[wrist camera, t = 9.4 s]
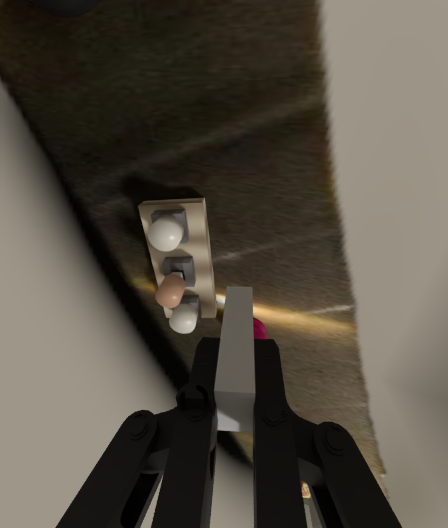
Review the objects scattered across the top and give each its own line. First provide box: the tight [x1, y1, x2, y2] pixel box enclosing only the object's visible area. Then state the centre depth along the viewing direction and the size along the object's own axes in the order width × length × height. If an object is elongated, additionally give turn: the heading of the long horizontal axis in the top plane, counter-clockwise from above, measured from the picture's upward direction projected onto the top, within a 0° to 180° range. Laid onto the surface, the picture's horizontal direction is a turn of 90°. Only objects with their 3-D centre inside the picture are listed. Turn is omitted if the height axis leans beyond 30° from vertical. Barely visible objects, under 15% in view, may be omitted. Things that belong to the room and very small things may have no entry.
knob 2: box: [169, 304, 198, 333], centre depth 48 cm, size 5×5×5 cm
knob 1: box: [148, 215, 184, 251], centre depth 39 cm, size 5×5×5 cm
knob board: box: [138, 198, 217, 323], centre depth 47 cm, size 25×11×6 cm, turn 4°
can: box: [308, 498, 322, 528], centre depth 94 cm, size 8×8×12 cm
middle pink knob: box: [156, 272, 186, 308], centre depth 41 cm, size 4×4×6 cm
